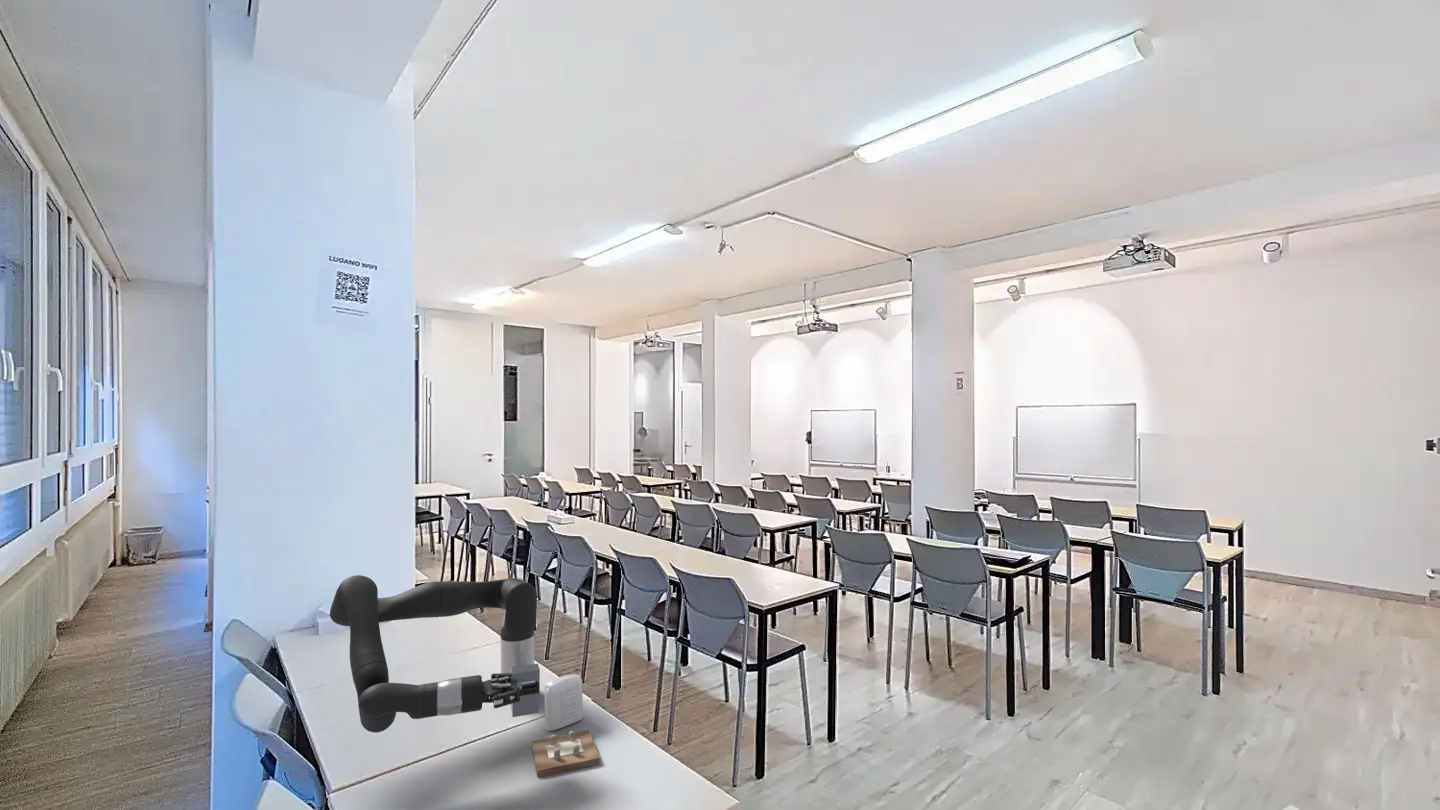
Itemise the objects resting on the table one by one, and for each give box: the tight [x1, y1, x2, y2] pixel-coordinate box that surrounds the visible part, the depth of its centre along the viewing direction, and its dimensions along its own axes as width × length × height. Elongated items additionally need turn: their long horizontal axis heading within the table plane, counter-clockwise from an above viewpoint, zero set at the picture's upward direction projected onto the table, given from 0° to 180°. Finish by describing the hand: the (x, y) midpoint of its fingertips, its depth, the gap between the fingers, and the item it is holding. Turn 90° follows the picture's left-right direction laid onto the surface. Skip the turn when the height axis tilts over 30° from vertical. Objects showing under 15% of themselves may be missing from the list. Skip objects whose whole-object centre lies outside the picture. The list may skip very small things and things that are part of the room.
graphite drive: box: [510, 662, 541, 718], centre depth 153 cm, size 4×6×10 cm
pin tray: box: [531, 729, 601, 778], centre depth 157 cm, size 14×14×4 cm
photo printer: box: [544, 673, 584, 732], centre depth 173 cm, size 10×4×12 cm, turn 134°
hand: (537, 683), depth 154 cm, fingers closed on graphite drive, 4 cm apart
